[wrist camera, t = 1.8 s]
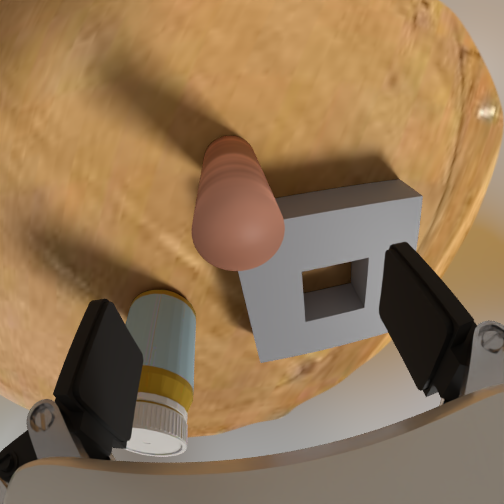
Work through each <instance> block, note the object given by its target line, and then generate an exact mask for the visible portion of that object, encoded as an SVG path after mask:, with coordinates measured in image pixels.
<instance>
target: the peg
mask: <svg viewBox="0 0 504 504" xmlns="http://www.w3.org/2000/svg"><path fill="white" fill-rule="evenodd" d="M284 232H285V225H284V219H283V216H282V214H281V211H280V209H279V207H278V205H277V202H276V200H275V198H274V195H273V193H272V191H271V189H270V186H269V184H268V182H267V180H266V177H265V175H264V173H263V171H262V168H261V166H260V164H259V162H258V160H257V157H256V155H255V153H254V151H253V149H252V147H251V146H250V144H249V143H248V142H247V141H245V140H244V139H242V138H240V137H237V136H223V137H220V138H218V139H216V140H214V141H213V142H212V143H211V144H210V145H209V146H208V148H207V150H206V152H205V156H204V161H203V166H202V171H201V177H200V182H199V188H198V194H197V199H196V205H195V211H194V217H193V224H192V239H193V243H194V245H195V248H196V249H197V251H198V253H199V254H200V255H201V256H202V257H203V258H204V259H205V260H206V261H207V262H209V263H210V264H212V265H213V266H216V267H218V268H221V269H224V270H229V271H244V270H249V269H253V268H256V267H258V266H260V265H262V264H264V263H265V262H267V261H268V260H269V259H271V258H272V257H273V256H274V255H275V253H276V252H277V251H278V249H279V248H280V246H281V244H282V241H283V238H284Z"/></svg>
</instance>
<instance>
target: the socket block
mask: <svg viewBox="0 0 504 504" xmlns="http://www.w3.org/2000/svg"><path fill="white" fill-rule="evenodd" d="M422 197H423V196H422V195H421V194H419V193H418V192H417V191H415V190H414V189H412V188H411V187H410V186H408V185H407V184H406V183H404V182H403V181H401V180H400V179H397V180H389V181H382V182H374V183H367V184H360V185H353V186H347V187H340V188H334V189H327V190H321V191H315V192H309V193H303V194H297V195H292V196H286V197H280V198H275V200H276V202H277V205H278V207H279V209H280V211H281V214H282V216H283V219H284V225H285V232H284V238H283V241H282V244H281V246H280V248H279V249H278V251H277V252H276V253H275V255H274V256H273V257H272V258H271V259H269V260H268V261H267V262H265V263H264V264H262V265H260V266H258V267H256V268H253V269H249V270H244V271H238V273H239V277H240V281H241V286H242V290H243V294H244V298H245V302H246V306H247V310H248V314H249V318H250V322H251V326H252V331H253V335H254V339H255V343H256V347H257V351H258V355H259V359H260V362H261V363H262V362H268V361H273V360H278V359H283V358H288V357H293V356H298V355H302V354H307V353H311V352H316V351H320V350H324V349H328V348H332V347H336V346H340V345H344V344H348V343H352V342H356V341H359V340H363V339H367V338H370V337H374V336H377V335H381V334H384V333H387V332H388V331H387V329H386V327H385V325H384V324H383V322H382V320H381V318H380V315H379V303H380V296H381V287H382V279H383V269H384V259H385V252H386V250H389V247H390V245H392V244H396V243H401V242H407V243H409V245H410V246H411V247H412V248H413V249H414V250H415V251H416V247H417V241H418V233H419V226H420V217H421V208H422ZM351 261H352V266H351V283H348V284H344V285H340V286H335V287H331V288H326V289H322V290H317V291H312V292H308V293H303V283H302V272H303V271H308V270H313V269H318V268H322V267H327V266H332V265H337V264H341V263H346V262H351Z"/></svg>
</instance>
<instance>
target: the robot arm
mask: <svg viewBox="0 0 504 504" xmlns="http://www.w3.org/2000/svg"><path fill="white" fill-rule="evenodd" d="M379 315H380V318H381V320H382V322H383V324H384V325H385V327H386V329H387V331H388V333H389V334H390V336H391V338H392V340H393V342H394V344H395V346H396V347H397V349H398V351H399V353H400V355H401V357H402V359H403V361H404V363H405V365H406V367H407V368H408V370H409V372H410V374H411V376H412V378H413V380H414V382H415V384H416V386H417V388H418V389H419V390H423V392H424V393H425V396H426V397H427V396H430V395H432V394H434V393H436V392H439V395H440V397H441V402H440V405H439V406H438V407H436V408H434V409H431V410H429V411H426V412H424V413H422V414H419V415H416V416H414V417H411V418H408V419H406V420H403V421H400V422H397V423H395V424H392V425H389V426H386V427H383V428H380V429H378V430H374V431H371V432H368V433H364V434H361V435H358V436H355V437H351V438H347V439H343V440H340V441H336V442H332V443H328V444H324V445H319V446H315V447H310V448H305V449H301V450H296V451H291V452H285V453H279V454H273V455H266V456H259V457H252V458H243V459H234V460H223V461H210V462H186V463H149V462H128V461H127V462H126V461H116V460H115V458H114V456H113V455H112V453H111V451H112V447H113V448H122V449H126V446H127V441H129V440H130V439H131V434H132V427H133V420H134V413H135V407H136V400H137V394H138V388H139V383H140V377H141V372H142V366H143V354H142V352H141V350H140V349H139V347H138V345H137V344H136V342H135V340H134V339H133V337H132V335H131V334H130V332H129V330H128V329H127V327H126V325H125V323H124V322H123V320H122V318H121V316H120V315H119V313H118V311H117V309H116V307H115V305H114V304H113V303H112V302H109V301H108V300H107V299H99V300H93V301H91V302H90V303H89V305H88V307H87V310H86V312H85V314H84V316H83V319H82V321H81V323H80V325H79V328H78V330H77V332H76V335H75V337H74V340H73V342H72V344H71V347H70V349H69V352H68V354H67V357H66V359H65V362H64V365H63V367H62V370H61V373H60V375H59V378H58V381H57V384H56V387H55V390H54V393H53V395H54V396H55V397H56V399H55V402H54V401H52V400H50V399H44V400H41V401H39V402H37V403H36V404H35V405H34V406H33V407H32V408H31V409H30V411H29V413H28V416H27V428H28V430H27V431H26V432H25V433H23V434H22V435H21V436H19V437H18V438H17V439H15V440H14V441H13V442H12V443H10V444H9V445H8V446H7V447H5V448H4V449H3V450H2V451H1V452H0V504H504V326H503V325H502V324H500V323H498V322H495V321H485V322H482V323H480V324H479V325H478V326H477V325H476V324H475V323H474V319H473V318H472V317H471V315H470V314H469V313H468V312H467V310H466V309H465V308H464V306H463V305H462V304H461V303H460V302H459V300H458V299H457V298H456V296H455V295H454V294H453V293H452V292H451V290H450V289H449V288H448V287H447V286H446V285H445V283H444V282H443V281H442V280H441V279H440V278H439V276H438V275H437V274H436V273H435V272H434V271H433V270H432V268H431V267H430V266H429V265H428V264H427V263H426V262H425V261H424V260H423V258H422V257H421V256H420V255H419V254H418V253H417V252H416V251H415V250H414V249H413V248H412V247H411V246H410V245H409V243H407V242H401V243H396V244H392V245H390V247H389V250H386V252H385V259H384V269H383V279H382V287H381V296H380V303H379Z"/></svg>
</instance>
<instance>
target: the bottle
mask: <svg viewBox="0 0 504 504" xmlns="http://www.w3.org/2000/svg"><path fill="white" fill-rule="evenodd" d="M125 325H126V327H127V329H128V330H129V332H130V334H131V335H132V337H133V339H134V340H135V342H136V344H137V345H138V347H139V349H140V350H141V352H142V354H143V366H142V372H141V377H140V383H139V388H138V394H137V400H136V407H135V413H134V420H133V427H132V434H131V439H130V440H129V441H127V446H126V450H128V451H132V452H135V453H138V454H143V455H149V456H160V457H163V456H164V457H165V456H174V455H178V454H181V453H183V452H184V451H185V450H186V448H187V412H188V410H189V408H190V405H191V403H192V401H193V388H194V355H195V331H196V315H195V311H194V309H193V307H192V305H191V304H190V303H189V302H188V301H187V300H186V299H185V298H183V297H182V296H180V295H178V294H176V293H174V292H171V291H167V290H150V291H146V292H143V293H142V294H140V295H138V296H137V297H136V298H135V299H134V301H133V302H132V304H131V307H130V310H129V313H128V317H127V321H126V324H125Z"/></svg>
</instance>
